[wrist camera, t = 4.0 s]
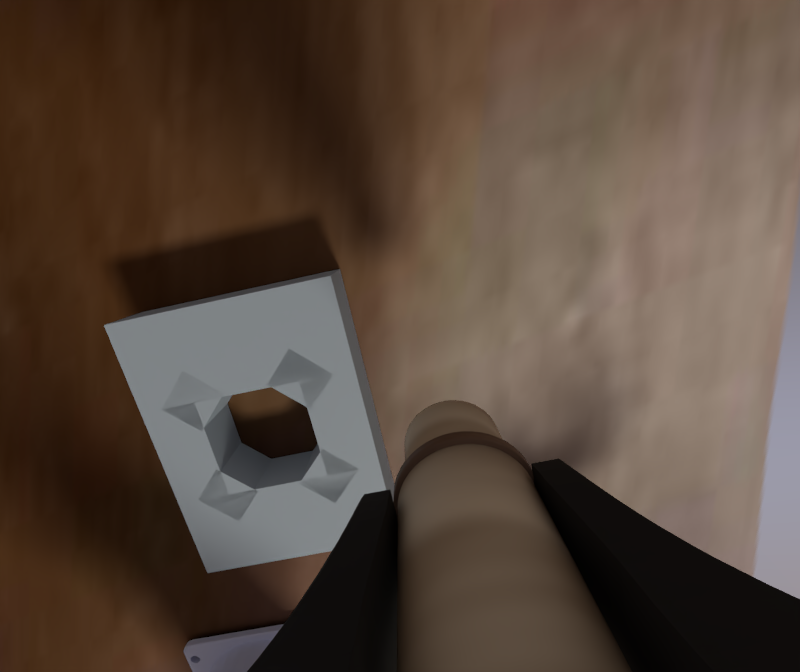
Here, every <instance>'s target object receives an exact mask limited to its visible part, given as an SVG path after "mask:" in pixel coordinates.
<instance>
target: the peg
mask: <svg viewBox="0 0 800 672" xmlns="http://www.w3.org/2000/svg"><path fill="white" fill-rule="evenodd" d="M393 503H394V507H395V511H396V515H397V519H398V548H397V672H632V671H631V669H630V667H629V665H628V663H627V661H626V659H625V657H624V655H623V653H622V651H621V650H620V648H619V646H618V644H617V642H616V640H615V638H614V636H613V634H612V632H611V630H610V628H609V627H608V625H607V623H606V621H605V619H604V617H603V615H602V613H601V611H600V609H599V607H598V605H597V604H596V602H595V600H594V598H593V596H592V594H591V592H590V590H589V588H588V586H587V584H586V583H585V581H584V579H583V577H582V575H581V573H580V571H579V569H578V567H577V565H576V563H575V561H574V560H573V558H572V556H571V554H570V552H569V550H568V548H567V546H566V544H565V542H564V540H563V538H562V537H561V535H560V533H559V531H558V529H557V527H556V525H555V523H554V521H553V519H552V517H551V516H550V514H549V512H548V510H547V508H546V506H545V504H544V502H543V500H542V498H541V496H540V494H539V493H538V491H537V489H536V487H535V485H534V478H533V472H532V470H531V468H530V466H529V464H528V463H527V461H526V459H525V458H524V457H523V456H522V454H521V453H520V452H519V451H518V450H517V449H516V448H515V447H513V446H512V445H511V444H509V443H508V442H506V441H504V440H502V438H501V435H500V433H499V431H498V429H497V427H496V425H495V423H494V422H493V420H492V419H491V417H490V416H489V415H488V414H487V413H486V412H485V411H484V410H482V409H481V408H479V407H478V406H476V405H474V404H471V403H468V402H464V401H457V400H450V401H443V402H439V403H436V404H433V405H431V406H429V407H427V408H426V409H424V410H423V411H421V412H420V413H419V414H418V415H417V416H416V417H415V418H414V419H413V421H412V422H411V424H410V426H409V428H408V430H407V433H406V437H405V462H404V464H403V465H402V467H401V468H400V471H399V473H398V475H397V478H396V481H395V486H394V499H393Z"/></svg>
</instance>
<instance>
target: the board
mask: <svg viewBox="0 0 800 672" xmlns="http://www.w3.org/2000/svg"><path fill="white" fill-rule="evenodd" d="M104 327H105V329H106V332H107V334H108V336H109V339H110V341H111V344H112V346H113V348H114V351H115V353H116V356H117V358H118V360H119V363H120V365H121V368H122V370H123V372H124V375H125V377H126V380H127V382H128V384H129V387H130V389H131V391H132V394H133V396H134V399H135V401H136V403H137V406H138V408H139V411H140V413H141V415H142V418H143V420H144V423H145V425H146V427H147V430H148V432H149V435H150V437H151V439H152V442H153V444H154V447H155V449H156V451H157V454H158V456H159V458H160V461H161V463H162V466H163V468H164V470H165V473H166V475H167V478H168V480H169V482H170V485H171V487H172V490H173V492H174V494H175V497H176V499H177V502H178V504H179V506H180V509H181V511H182V513H183V516H184V518H185V521H186V523H187V525H188V528H189V530H190V533H191V535H192V537H193V540H194V542H195V545H196V547H197V549H198V552H199V554H200V557H201V559H202V561H203V564H204V566H205V569H206V571H207V573H211V572H217V571H223V570H228V569H234V568H239V567H245V566H250V565H256V564H261V563H267V562H273V561H278V560H284V559H289V558H295V557H300V556H306V555H311V554H317V553H323V552H328V551H332V550H333V548H334V547H335V545H336V543H337V542H338V540H339V538H340V536H341V535H342V533H343V531H344V529H345V527H346V526H347V524H348V522H349V520H350V518H351V516H352V515H353V513H354V511H355V509H356V507H357V505H358V503H359V501H360V500H361V498H362V497H363V495H364V494H368V493H373V492H379V491H384V490H391V494H392V499H394V482H393V478H392V474H391V470H390V466H389V462H388V458H387V454H386V450H385V446H384V442H383V438H382V434H381V430H380V426H379V422H378V418H377V414H376V410H375V406H374V402H373V398H372V394H371V390H370V387H369V383H368V379H367V375H366V371H365V367H364V363H363V359H362V355H361V351H360V347H359V343H358V339H357V335H356V331H355V327H354V323H353V319H352V315H351V311H350V307H349V303H348V299H347V295H346V291H345V287H344V283H343V279H342V276H341V272H340V269H337V270H332V271H328V272H323V273H319V274H314V275H309V276H305V277H300V278H296V279H291V280H287V281H282V282H277V283H273V284H268V285H264V286H259V287H255V288H250V289H245V290H241V291H236V292H232V293H227V294H223V295H218V296H213V297H209V298H204V299H200V300H195V301H191V302H186V303H182V304H177V305H172V306H168V307H163V308H159V309H154V310H150V311H145V312H141V313H138V314H135V315H132V316H129V317H126V318H123V319H120V320H118V321H115V322H112V323H109V324H106V325H104ZM269 387H272V388H274V389H276V390H278V391H279V392H281V393H283V394H285V395H286V396H288V397H290V398H292V399H293V400H295V401H297V402H299V403H300V404H302V405H304V406H306V407H307V409H308V413H309V416H310V419H311V423H312V426H313V429H314V433H315V436H316V439H317V443H318V444H317V445H316V447H315V448H314V450H313V451H309V452H303V453H298V454H293V455H288V456H283V457H278V458H273V459H271V458H269V457H267V456H265V455H263V454H262V453H260V452H258V451H256V450H254V449H252V448H251V447H249V446H247V445H245V444H243V443H241V440H240V437H239V434H238V432H237V429H236V426H235V423H234V420H233V418H232V415H231V412H230V409H229V406H228V402H229V400H230V398H231V396H232V395H235V394H239V393H244V392H249V391H254V390H259V389H264V388H269Z"/></svg>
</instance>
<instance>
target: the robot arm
mask: <svg viewBox="0 0 800 672" xmlns="http://www.w3.org/2000/svg"><path fill="white" fill-rule="evenodd" d="M532 471H533V478H534V485H535V487H536V489H537V491H538V493H539V494H540V496H541V498H542V500H543V502H544V504H545V506H546V508H547V510H548V512H549V514H550V516H551V517H552V519H553V521H554V523H555V525H556V527H557V529H558V531H559V533H560V535H561V537H562V538H563V540H564V542H565V544H566V546H567V548H568V550H569V552H570V554H571V556H572V558H573V560H574V561H575V563H576V565H577V567H578V569H579V571H580V573H581V575H582V577H583V579H584V581H585V583H586V584H587V586H588V588H589V590H590V592H591V594H592V596H593V598H594V600H595V602H596V604H597V605H598V607H599V609H600V611H601V613H602V615H603V617H604V619H605V621H606V623H607V625H608V627H609V628H610V630H611V632H612V634H613V636H614V638H615V640H616V642H617V644H618V646H619V648H620V650H621V651H622V653H623V655H624V657H625V659H626V661H627V663H628V665H629V667H630V669H631V671H632V672H800V599H798V598H796V597H793V596H791V595H789V594H787V593H785V592H783V591H781V590H778V589H776V588H774V587H772V586H770V585H768V584H766V583H764V582H762V581H760V580H758V579H756V578H754V577H752V576H750V575H748V574H746V573H744V572H742V571H740V570H738V569H736V568H734V567H732V566H730V565H728V564H726V563H724V562H722V561H720V560H718V559H716V558H714V557H713V556H711V555H709V554H707V553H705V552H703V551H701V550H700V549H698V548H696V547H694V546H692V545H691V544H689V543H687V542H685V541H684V540H682V539H680V538H679V537H677V536H675V535H673V534H672V533H670V532H668V531H667V530H665V529H663V528H661V527H660V526H658V525H656V524H655V523H653V522H652V521H650V520H648V519H647V518H645V517H643V516H642V515H640V514H639V513H637V512H636V511H634V510H633V509H631V508H629V507H628V506H626V505H625V504H623V503H622V502H620V501H619V500H617V499H616V498H614V497H613V496H611V495H610V494H608V493H607V492H605V491H604V490H603V489H601V488H600V487H598V486H597V485H595V484H594V483H593V482H591V481H590V480H588V479H587V478H585V477H584V476H583V475H581V474H580V473H578V472H577V471H576V470H574V469H573V468H571V467H570V466H568V465H567V464H565V463H564V462H563V461H561V460H560V459H555V460H549V461H544V462H538V463H533V464H532ZM397 548H398V519H397V515H396V511H395V507H394V503H393V499H392V494H391V490H384V491H379V492H373V493H368V494H364V495H363V497H362V498H361V500H360V501H359V503H358V505H357V507H356V509H355V511H354V513H353V515H352V516H351V518H350V520H349V522H348V524H347V526H346V527H345V529H344V531H343V533H342V535H341V536H340V538H339V540H338V542H337V543H336V545H335V547H334V548H333V550H332V552H331V553H330V555H329V557H328V558H327V560H326V562H325V563H324V565H323V567H322V568H321V570H320V572H319V573H318V575H317V576H316V578H315V579H314V581H313V582H312V584H311V585H310V587H309V588H308V590H307V591H306V593H305V594H304V596H303V597H302V599H301V600H300V602H299V603H298V605H297V606H296V608H295V609H294V611H293V612H292V614H291V615H290V616H289V618H288V619H287V621H286V622H285V623H284V624H281V625H275V626H269V627H263V628H258V629H252V630H246V631H240V632H234V633H228V634H222V635H217V636H211V637H205V638H199V639H193V640H190V641H188V642H187V644H186V646H185V648H184V654H185V657H186V659H187V661H188V663H189V665H190V667H191V669H192V672H397Z"/></svg>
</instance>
